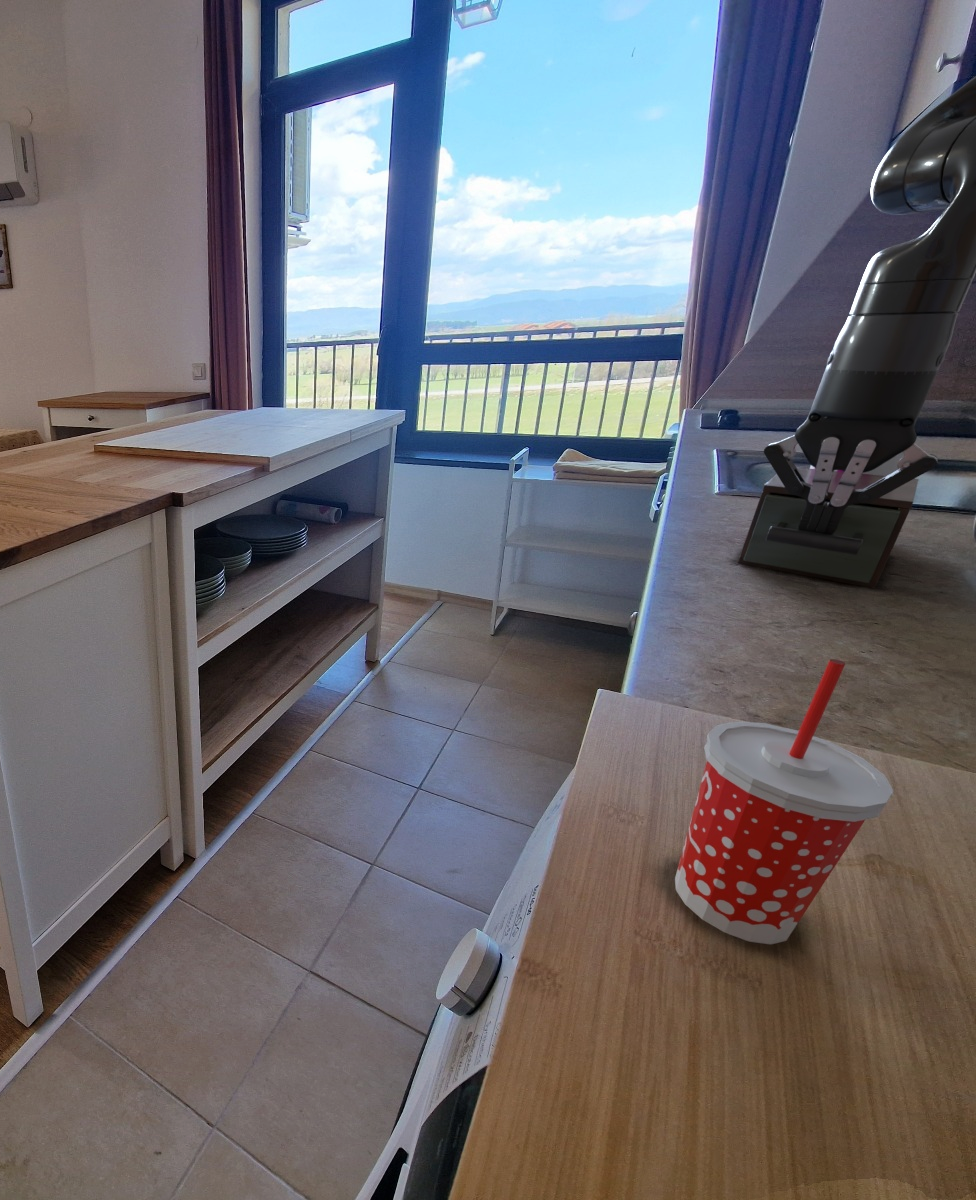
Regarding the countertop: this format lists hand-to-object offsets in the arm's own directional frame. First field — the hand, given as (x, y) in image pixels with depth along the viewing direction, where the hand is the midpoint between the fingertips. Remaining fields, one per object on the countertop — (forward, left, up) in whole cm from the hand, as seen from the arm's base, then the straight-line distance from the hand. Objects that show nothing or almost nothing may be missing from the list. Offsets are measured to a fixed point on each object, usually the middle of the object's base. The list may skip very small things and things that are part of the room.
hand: (812, 537), depth 67 cm
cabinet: (-8, -9, -6) cm, 13 cm away
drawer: (-4, -5, -5) cm, 8 cm away
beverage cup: (+33, +47, -6) cm, 58 cm away
